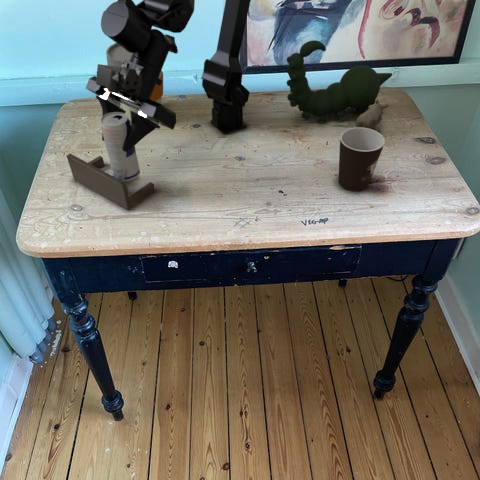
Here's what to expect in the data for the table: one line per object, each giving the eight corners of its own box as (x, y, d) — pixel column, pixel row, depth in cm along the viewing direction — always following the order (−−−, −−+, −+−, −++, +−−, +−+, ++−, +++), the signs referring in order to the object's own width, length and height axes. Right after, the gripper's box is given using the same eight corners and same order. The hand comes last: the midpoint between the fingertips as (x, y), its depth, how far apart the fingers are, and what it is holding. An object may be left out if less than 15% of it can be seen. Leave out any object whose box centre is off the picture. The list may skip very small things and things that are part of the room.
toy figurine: (293, 136, 118) (394, 117, 119) (292, 54, 103) (407, 33, 104) (284, 116, 124) (380, 98, 125) (282, 36, 109) (391, 16, 110)
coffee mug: (348, 199, 100) (357, 156, 92) (325, 177, 105) (331, 134, 97) (394, 183, 103) (406, 140, 95) (369, 162, 108) (378, 119, 100)
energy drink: (145, 170, 100) (134, 114, 91) (130, 185, 97) (118, 129, 88) (123, 164, 102) (110, 108, 92) (108, 178, 99) (93, 122, 89)
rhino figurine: (389, 120, 119) (395, 96, 114) (364, 146, 112) (370, 121, 107) (374, 115, 121) (379, 91, 116) (348, 140, 114) (353, 116, 109)
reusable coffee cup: (142, 96, 128) (132, 34, 116) (179, 110, 123) (172, 47, 111) (107, 116, 121) (93, 53, 109) (145, 132, 116) (134, 67, 105)
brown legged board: (101, 163, 109) (95, 138, 104) (155, 191, 102) (151, 166, 97) (74, 180, 105) (66, 155, 100) (128, 210, 98) (122, 185, 94)
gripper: (79, 29, 86) (49, 115, 90) (156, 57, 79) (119, 150, 82) (121, 59, 96) (93, 135, 100) (192, 86, 89) (159, 168, 92)
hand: (114, 146), depth 93 cm, fingers closed on energy drink, 5 cm apart
